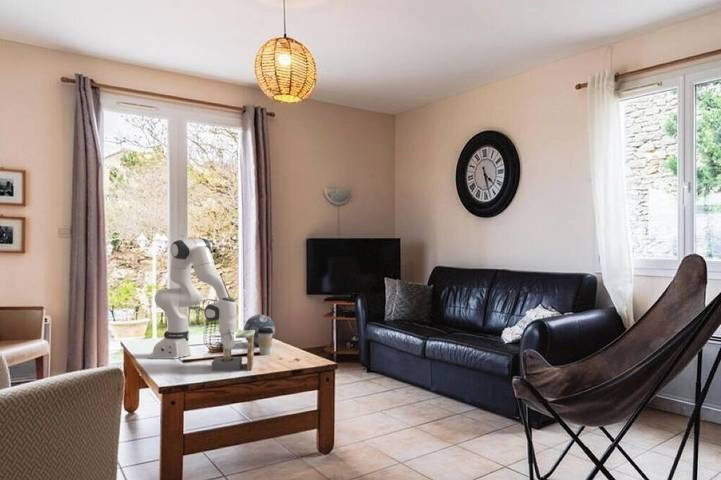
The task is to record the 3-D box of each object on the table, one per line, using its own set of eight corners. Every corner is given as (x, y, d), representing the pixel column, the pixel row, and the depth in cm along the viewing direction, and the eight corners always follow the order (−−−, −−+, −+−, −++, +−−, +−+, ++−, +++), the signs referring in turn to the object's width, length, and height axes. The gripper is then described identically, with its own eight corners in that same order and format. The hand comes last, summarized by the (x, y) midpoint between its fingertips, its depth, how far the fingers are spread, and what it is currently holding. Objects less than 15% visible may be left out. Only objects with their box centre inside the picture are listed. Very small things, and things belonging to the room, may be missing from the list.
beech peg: (223, 369, 256) (224, 346, 256) (222, 367, 260) (222, 344, 260) (231, 368, 258) (231, 345, 258) (230, 366, 261) (230, 344, 262)
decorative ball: (281, 345, 318) (282, 314, 318) (258, 350, 301) (259, 317, 301) (259, 341, 329) (260, 311, 329) (236, 346, 312) (237, 314, 312)
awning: (235, 371, 251) (235, 335, 252) (238, 363, 267) (239, 330, 267) (251, 370, 253) (252, 335, 253) (254, 363, 268) (254, 330, 269)
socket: (211, 370, 252) (211, 362, 252) (215, 364, 264) (215, 357, 264) (239, 369, 254) (239, 362, 254) (241, 364, 266) (242, 356, 266)
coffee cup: (253, 355, 288) (254, 329, 288) (261, 351, 297) (262, 327, 297) (268, 356, 285) (268, 330, 285) (275, 353, 294) (276, 328, 294)
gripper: (237, 331, 251) (237, 358, 251) (230, 325, 269) (230, 350, 269) (225, 332, 248) (224, 359, 248) (218, 326, 267) (218, 351, 267)
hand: (227, 354), depth 259 cm, fingers open, 5 cm apart
